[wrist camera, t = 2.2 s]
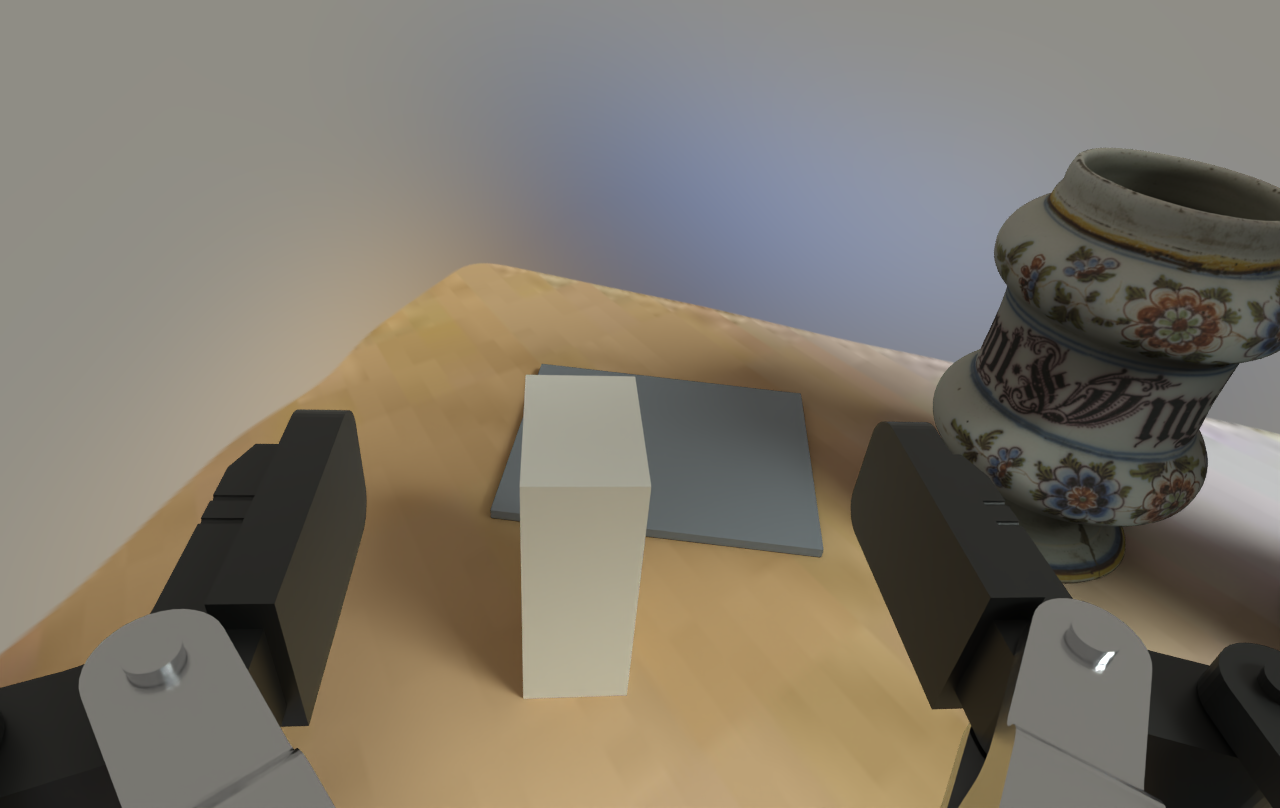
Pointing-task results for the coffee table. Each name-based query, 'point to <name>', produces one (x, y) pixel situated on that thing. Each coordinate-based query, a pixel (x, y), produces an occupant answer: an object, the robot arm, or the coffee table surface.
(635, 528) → the tall cream pillar block
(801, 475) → the mat
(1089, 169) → the apothecary jar
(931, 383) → the coffee table surface
